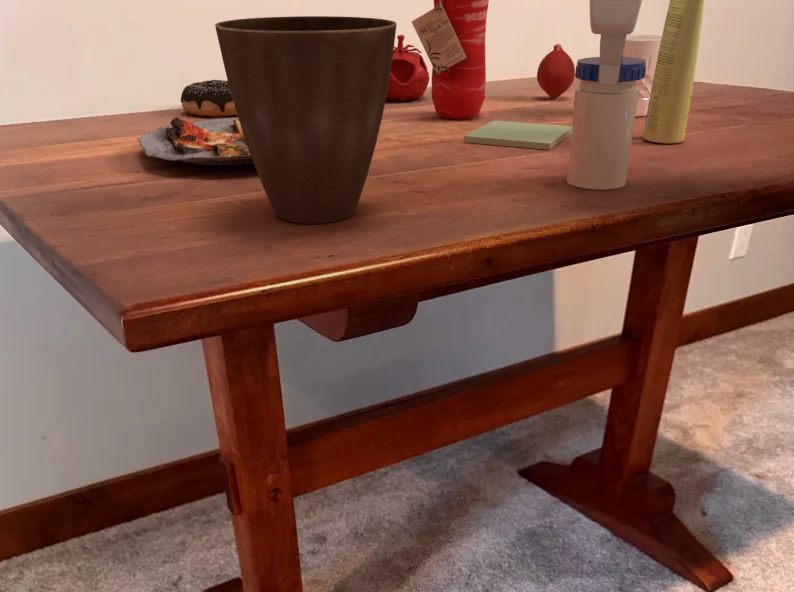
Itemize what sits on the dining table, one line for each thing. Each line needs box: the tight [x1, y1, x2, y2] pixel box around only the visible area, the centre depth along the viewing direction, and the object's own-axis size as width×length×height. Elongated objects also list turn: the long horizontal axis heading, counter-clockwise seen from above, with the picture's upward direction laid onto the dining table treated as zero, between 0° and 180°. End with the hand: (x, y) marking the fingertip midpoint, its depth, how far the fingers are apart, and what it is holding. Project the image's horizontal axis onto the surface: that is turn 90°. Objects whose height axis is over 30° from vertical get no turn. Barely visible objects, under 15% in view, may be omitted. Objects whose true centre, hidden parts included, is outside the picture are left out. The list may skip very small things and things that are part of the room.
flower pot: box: [214, 15, 398, 225], centre depth 70 cm, size 15×15×16 cm
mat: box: [463, 120, 572, 151], centre depth 101 cm, size 11×11×1 cm
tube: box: [642, 0, 705, 144], centre depth 94 cm, size 6×5×20 cm
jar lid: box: [574, 56, 646, 82], centre depth 77 cm, size 6×6×2 cm
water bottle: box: [411, 0, 490, 120], centre depth 107 cm, size 12×8×25 cm, turn 135°
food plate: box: [136, 116, 254, 166], centre depth 95 cm, size 25×23×4 cm
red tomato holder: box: [386, 34, 430, 102], centre depth 126 cm, size 10×10×9 cm
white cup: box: [623, 33, 662, 118], centre depth 113 cm, size 8×8×10 cm
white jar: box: [565, 80, 639, 191], centre depth 80 cm, size 6×6×10 cm
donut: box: [180, 79, 237, 118], centre depth 119 cm, size 11×12×4 cm
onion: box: [536, 43, 576, 100], centre depth 124 cm, size 6×6×8 cm
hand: (609, 78), depth 77 cm, fingers closed on jar lid, 6 cm apart
